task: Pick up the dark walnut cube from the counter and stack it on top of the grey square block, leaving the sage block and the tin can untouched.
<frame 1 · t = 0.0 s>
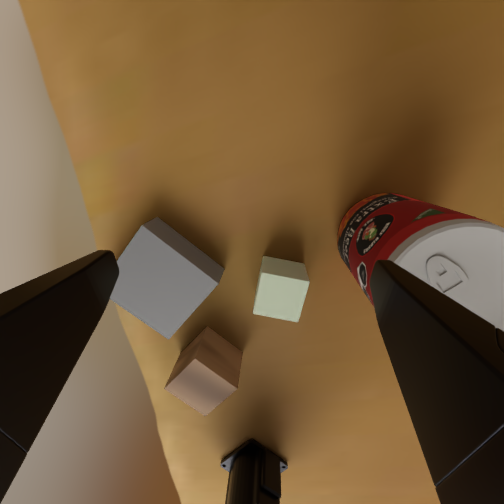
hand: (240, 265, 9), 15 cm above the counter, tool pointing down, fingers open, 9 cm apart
walnut cube: (211, 352, 30), on the counter
grey square block: (170, 270, 27), on the counter
sage block: (279, 277, 26), on the counter
canned food: (377, 234, 24), on the counter
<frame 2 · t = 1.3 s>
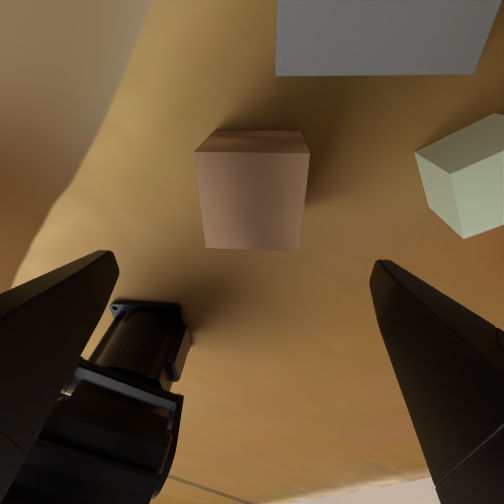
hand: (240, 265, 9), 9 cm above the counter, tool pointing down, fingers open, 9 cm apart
walnut cube: (257, 172, 17), on the counter
sage block: (457, 164, 16), on the counter
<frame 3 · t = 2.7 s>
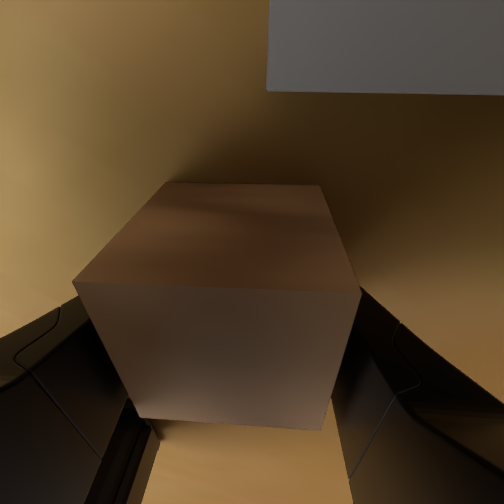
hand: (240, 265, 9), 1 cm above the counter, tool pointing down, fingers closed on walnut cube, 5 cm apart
walnut cube: (243, 248, 10), on the counter, touching gripper
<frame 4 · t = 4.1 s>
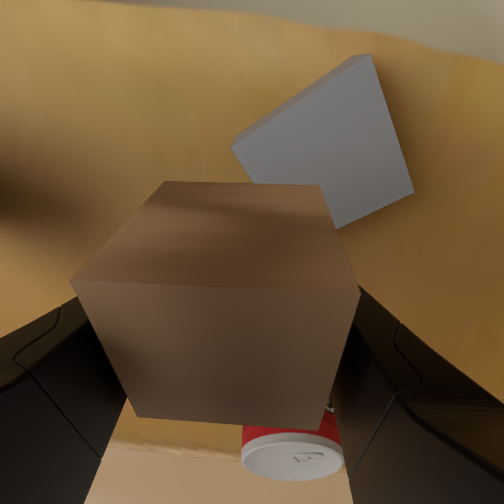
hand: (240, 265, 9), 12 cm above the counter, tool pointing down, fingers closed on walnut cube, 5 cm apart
walnut cube: (242, 247, 10), point 11 cm above the counter, touching gripper
grey square block: (316, 154, 19), on the counter
canned food: (284, 342, 30), on the counter
when the fingers open (6 cm above the counter, at t = 5.7 s): walnut cube drops 2 cm, point 3 cm above the counter.
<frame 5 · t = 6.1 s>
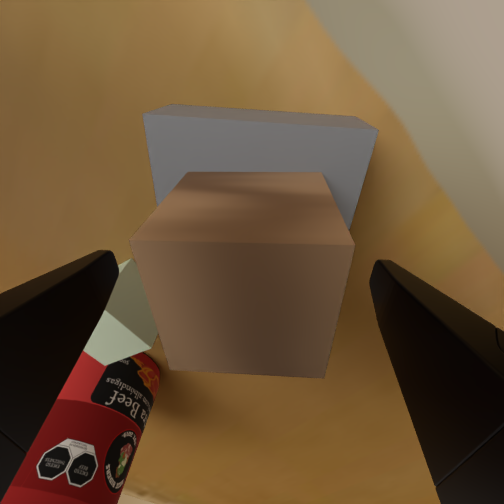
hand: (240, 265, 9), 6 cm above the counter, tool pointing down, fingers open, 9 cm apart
walnut cube: (254, 230, 11), point 3 cm above the counter
grey square block: (257, 194, 14), on the counter
sage block: (132, 289, 18), on the counter
canned food: (119, 364, 24), on the counter
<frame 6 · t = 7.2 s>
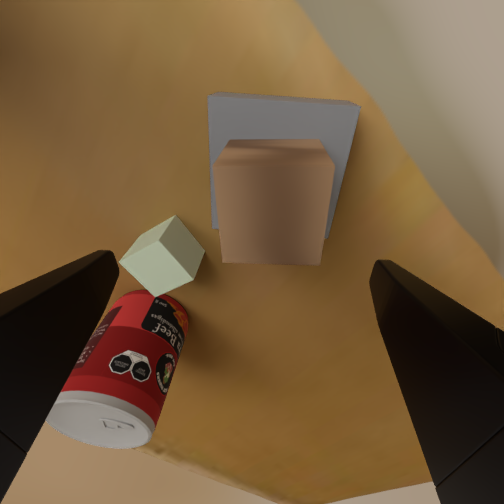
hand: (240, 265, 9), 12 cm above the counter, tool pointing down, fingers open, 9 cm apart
walnut cube: (272, 182, 17), point 3 cm above the counter, touching grey square block
grey square block: (275, 160, 19), on the counter, touching walnut cube
sage block: (173, 242, 23), on the counter
canned food: (154, 312, 29), on the counter
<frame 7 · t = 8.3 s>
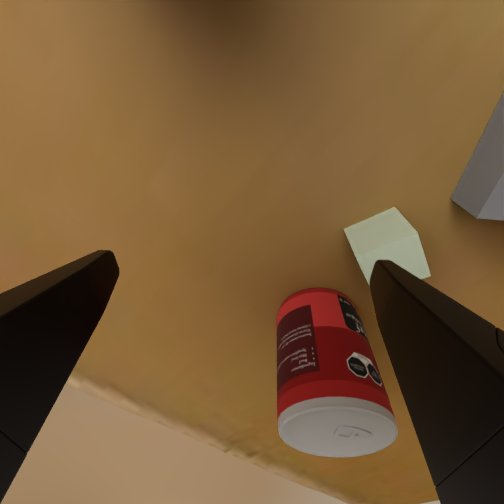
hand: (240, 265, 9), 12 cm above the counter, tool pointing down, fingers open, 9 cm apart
sage block: (375, 236, 22), on the counter
canned food: (315, 312, 27), on the counter
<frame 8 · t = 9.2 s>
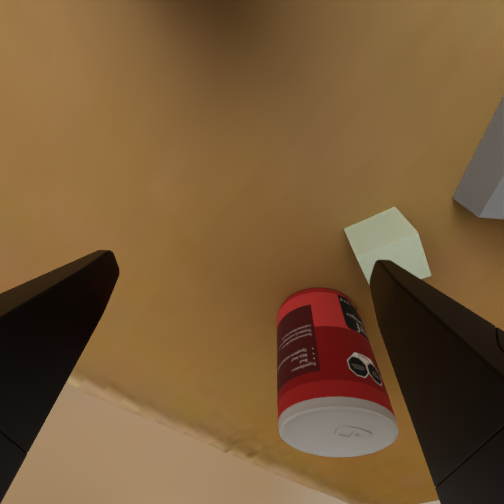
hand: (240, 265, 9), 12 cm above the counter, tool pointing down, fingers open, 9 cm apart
sage block: (376, 236, 22), on the counter
canned food: (316, 312, 27), on the counter
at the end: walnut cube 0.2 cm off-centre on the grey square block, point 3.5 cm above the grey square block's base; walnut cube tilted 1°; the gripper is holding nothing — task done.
